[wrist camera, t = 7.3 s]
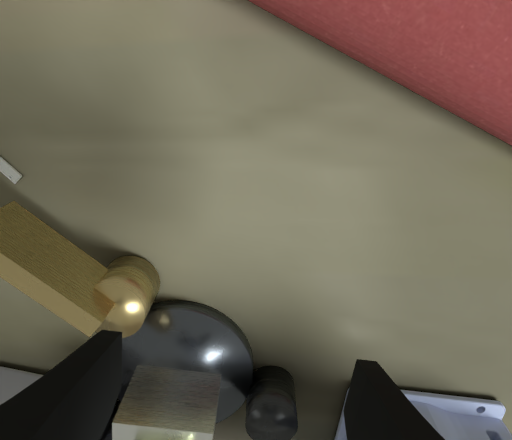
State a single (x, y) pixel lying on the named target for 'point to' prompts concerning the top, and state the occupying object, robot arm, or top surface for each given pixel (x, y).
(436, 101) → the blood vessel
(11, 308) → the top surface
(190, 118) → the top surface
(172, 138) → the top surface
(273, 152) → the top surface
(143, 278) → the brass knob
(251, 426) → the base
